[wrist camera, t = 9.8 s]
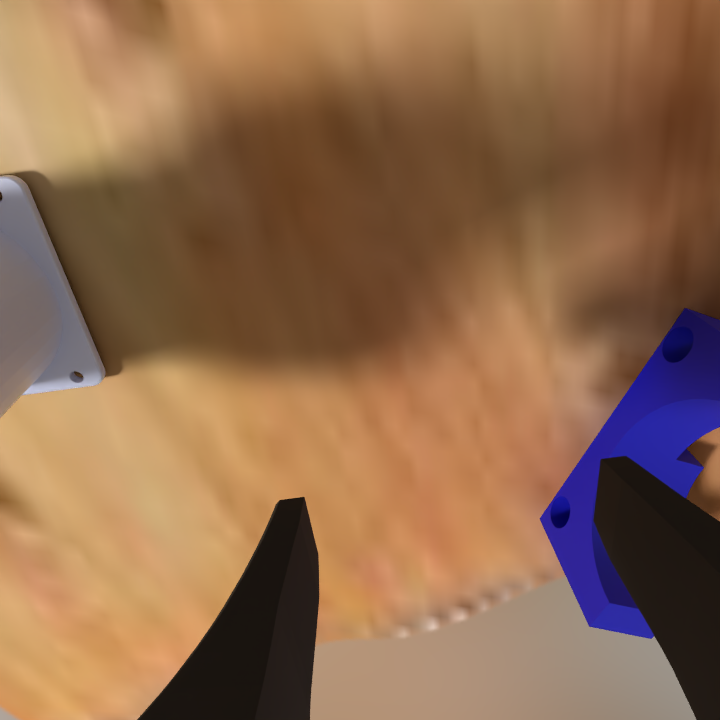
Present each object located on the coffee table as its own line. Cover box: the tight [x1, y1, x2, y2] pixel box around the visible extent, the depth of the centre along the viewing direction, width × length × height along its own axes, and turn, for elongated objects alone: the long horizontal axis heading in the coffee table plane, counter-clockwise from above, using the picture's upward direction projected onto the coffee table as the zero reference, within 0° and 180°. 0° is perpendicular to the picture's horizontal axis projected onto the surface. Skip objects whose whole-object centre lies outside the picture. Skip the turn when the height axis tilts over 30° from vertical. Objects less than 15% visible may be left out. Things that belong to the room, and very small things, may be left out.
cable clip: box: [540, 308, 720, 639], centre depth 22 cm, size 12×4×6 cm, turn 160°
